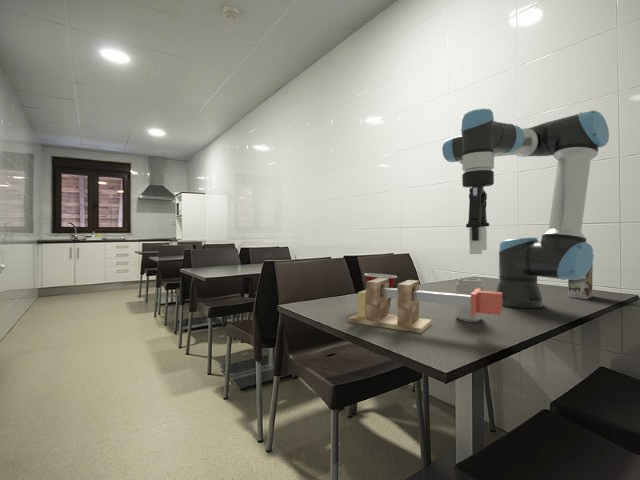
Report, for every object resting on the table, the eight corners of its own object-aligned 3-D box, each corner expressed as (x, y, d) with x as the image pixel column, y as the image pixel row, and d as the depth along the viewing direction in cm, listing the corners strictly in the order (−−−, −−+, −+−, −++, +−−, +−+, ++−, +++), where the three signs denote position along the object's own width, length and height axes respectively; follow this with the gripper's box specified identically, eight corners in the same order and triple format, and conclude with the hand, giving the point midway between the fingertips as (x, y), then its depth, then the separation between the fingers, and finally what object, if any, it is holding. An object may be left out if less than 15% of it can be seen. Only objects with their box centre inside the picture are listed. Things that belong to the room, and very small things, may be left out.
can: (486, 323, 97) (486, 280, 96) (458, 322, 98) (458, 280, 98) (479, 316, 104) (479, 277, 104) (453, 315, 105) (453, 276, 105)
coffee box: (588, 299, 128) (588, 256, 127) (567, 297, 133) (567, 255, 132) (593, 296, 134) (593, 255, 134) (572, 294, 139) (573, 254, 138)
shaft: (503, 310, 86) (503, 290, 86) (500, 318, 78) (500, 296, 78) (386, 297, 103) (386, 281, 103) (373, 303, 95) (373, 285, 95)
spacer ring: (376, 313, 104) (376, 289, 103) (365, 319, 97) (365, 293, 97) (368, 312, 105) (368, 288, 105) (358, 317, 99) (358, 292, 98)
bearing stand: (431, 324, 96) (431, 281, 96) (421, 333, 88) (421, 286, 87) (363, 314, 107) (363, 276, 107) (348, 321, 99) (348, 280, 99)
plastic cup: (404, 311, 112) (404, 274, 112) (378, 315, 106) (378, 276, 106) (382, 304, 121) (382, 271, 121) (357, 308, 116) (357, 273, 116)
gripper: (468, 177, 103) (469, 248, 104) (454, 166, 81) (455, 255, 82) (496, 175, 99) (497, 248, 100) (489, 162, 77) (490, 256, 78)
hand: (478, 251), depth 91 cm, fingers open, 13 cm apart
